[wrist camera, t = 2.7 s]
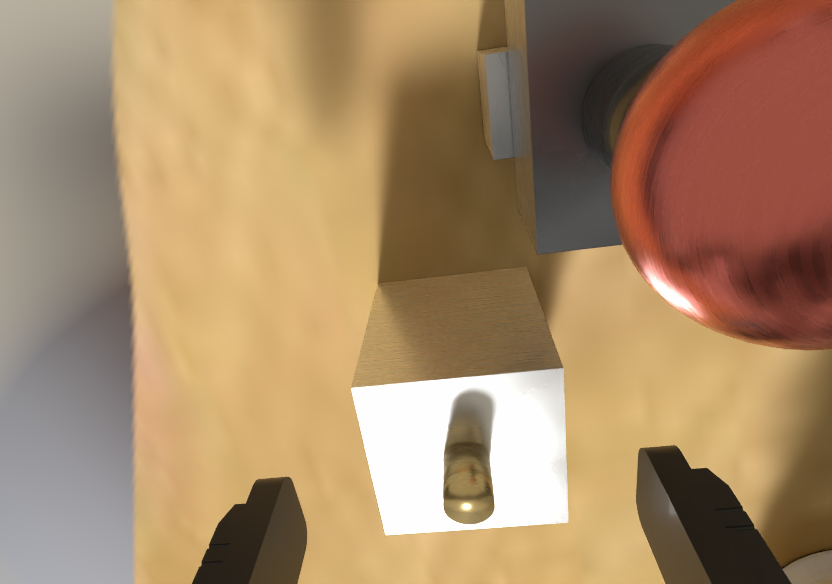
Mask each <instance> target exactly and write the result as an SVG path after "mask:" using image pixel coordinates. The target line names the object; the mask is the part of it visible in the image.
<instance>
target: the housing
mask: <svg viewBox="0 0 832 584" xmlns="http://www.w3.org/2000/svg"><path fill="white" fill-rule="evenodd" d="M351 390H352V394H353V398H354V402H355V407H356V411H357V415H358V419H359V423H360V428H361V432H362V436H363V440H364V444H365V449H366V453H367V457H368V461H369V465H370V470H371V474H372V478H373V482H374V486H375V491H376V495H377V499H378V503H379V507H380V512H381V516H382V520H383V524H384V528H385V533H386V535H388V534H403V533H418V532H433V531H449V530H464V529H479V528H494V527H509V526H524V525H539V524H554V523H568V497H567V466H566V434H565V402H564V370H563V365H562V363H561V360H560V357H559V355H558V352H557V349H556V346H555V344H554V341H553V338H552V335H551V333H550V330H549V327H548V324H547V322H546V319H545V316H544V313H543V311H542V308H541V305H540V302H539V300H538V297H537V294H536V291H535V289H534V286H533V283H532V280H531V278H530V275H529V272H528V269H527V267H518V268H509V269H500V270H492V271H483V272H474V273H465V274H457V275H448V276H439V277H430V278H422V279H413V280H404V281H396V282H387V283H378V284H377V288H376V292H375V296H374V300H373V304H372V308H371V312H370V316H369V320H368V324H367V328H366V332H365V336H364V340H363V343H362V347H361V351H360V355H359V359H358V363H357V367H356V371H355V375H354V379H353V383H352V387H351Z"/></svg>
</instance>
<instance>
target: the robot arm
mask: <svg viewBox="0 0 832 584" xmlns="http://www.w3.org/2000/svg"><path fill="white" fill-rule="evenodd" d="M636 503H637V510H638V515H639V519H640V522H641V525H642V528H643V530H644V533H645V535H646V537H647V540H648V542H649V545H650V547H651V549H652V552H653V554H654V557H655V559H656V562H657V564H658V566H659V569H660V571H661V574H662V576H663V578H664V581H665V583H666V584H792V583H791V582H790V580H789V579H788V577H787V575H786V574H785V572H784V571H783V569H782V568H781V566H780V565H779V563H778V561H777V560H776V558H775V557H774V555H773V554H772V552H771V551H770V549H769V548H768V546H767V544H766V543H765V541H764V540H763V538H762V537H761V535H760V534H759V532H758V530H755V528H754V524H753V523H752V521H751V520H750V518H749V516H748V515H747V513H746V512H745V511H743V508H742V506H741V504H740V502H739V501H738V499H737V498H736V496H735V495H734V493H733V492H732V490H731V488H730V487H729V485H727V484H726V483H725V482H724V481H722V480H721V479H720V478H719V477H717V476H716V475H715V474H714V473H712V472H711V471H710V470H709V469H707V468H700V469H691V468H690V466H689V464H688V463H687V461H686V459H685V458H684V456H683V454H682V452H681V451H680V449H679V448H678V447H677V446H675V445H673V446H661V447H649V448H640V450H639V453H638V470H637V490H636ZM306 544H307V527H306V521H305V518H304V515H303V512H302V509H301V506H300V503H299V500H298V497H297V494H296V491H295V487H294V484H293V482H292V480H291V478H290V477H279V478H268V479H258V480H256V481H255V483H254V485H253V487H252V490H251V492H250V495H249V497H248V500H247V502H246V504H235V505H234V506H233V507H232V508H231V510H230V511H229V512H228V513H227V514H226V515H225V517H224V518H223V519H222V520H221V521H220V522H219V523H218V526H217V528H216V530H215V532H214V535H213V537H212V539H211V542H210V544H209V549H207V551H206V553H205V555H204V557H203V560H202V565H201V567H199V569H198V571H197V573H196V576H195V578H194V580H193V583H192V584H297V583H298V579H299V575H300V571H301V567H302V563H303V559H304V554H305V550H306Z"/></svg>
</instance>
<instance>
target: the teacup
mask: <svg viewBox="0 0 832 584" xmlns="http://www.w3.org/2000/svg"><path fill="white" fill-rule="evenodd" d="M783 571H784V572H785V574H786V575H787V577H788V579H789V580H790V582H791V583H792V584H832V550H828V551H824V552H820V553H816V554H811V555H809V556H806V557H804V558H801V559H798V560H797V561H795V562H793V563H791V564H789V565H788V566H786V567H785V568H784V569H783Z"/></svg>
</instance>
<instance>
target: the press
mask: <svg viewBox="0 0 832 584" xmlns="http://www.w3.org/2000/svg"><path fill="white" fill-rule="evenodd" d="M477 59H478V71H479V82H480V93H481V105H482V116H483V127H484V139H485V141H486V144H487V146H488V148H489V151H490V153H491V156H492V158H493V160H498V159H505V158H513V157H515V155H514V139H513V124H512V109H511V94H510V78H509V63H508V48H507V46H506V47H499V48H493V49H487V50H480V51H477Z"/></svg>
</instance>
